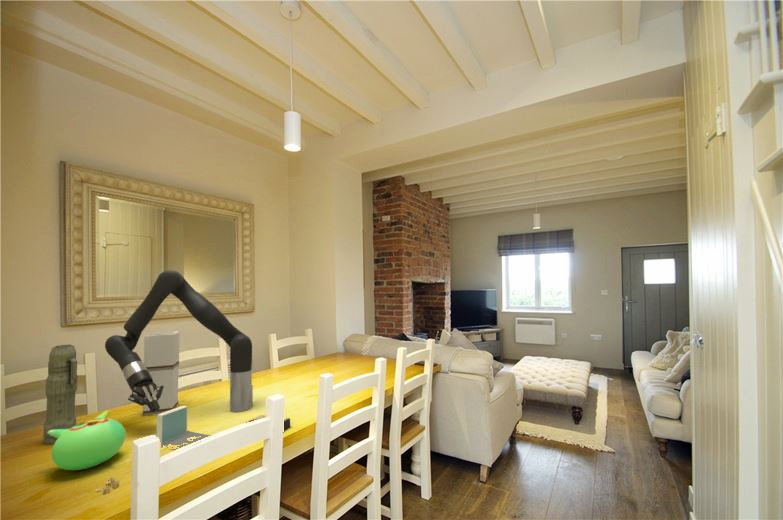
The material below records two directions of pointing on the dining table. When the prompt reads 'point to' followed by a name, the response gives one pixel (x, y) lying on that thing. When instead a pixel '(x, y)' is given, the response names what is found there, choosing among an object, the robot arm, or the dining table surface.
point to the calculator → (286, 421)
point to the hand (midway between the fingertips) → (156, 410)
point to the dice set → (108, 485)
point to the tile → (172, 424)
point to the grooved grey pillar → (163, 368)
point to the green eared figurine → (87, 443)
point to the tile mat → (184, 439)
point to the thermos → (60, 390)
